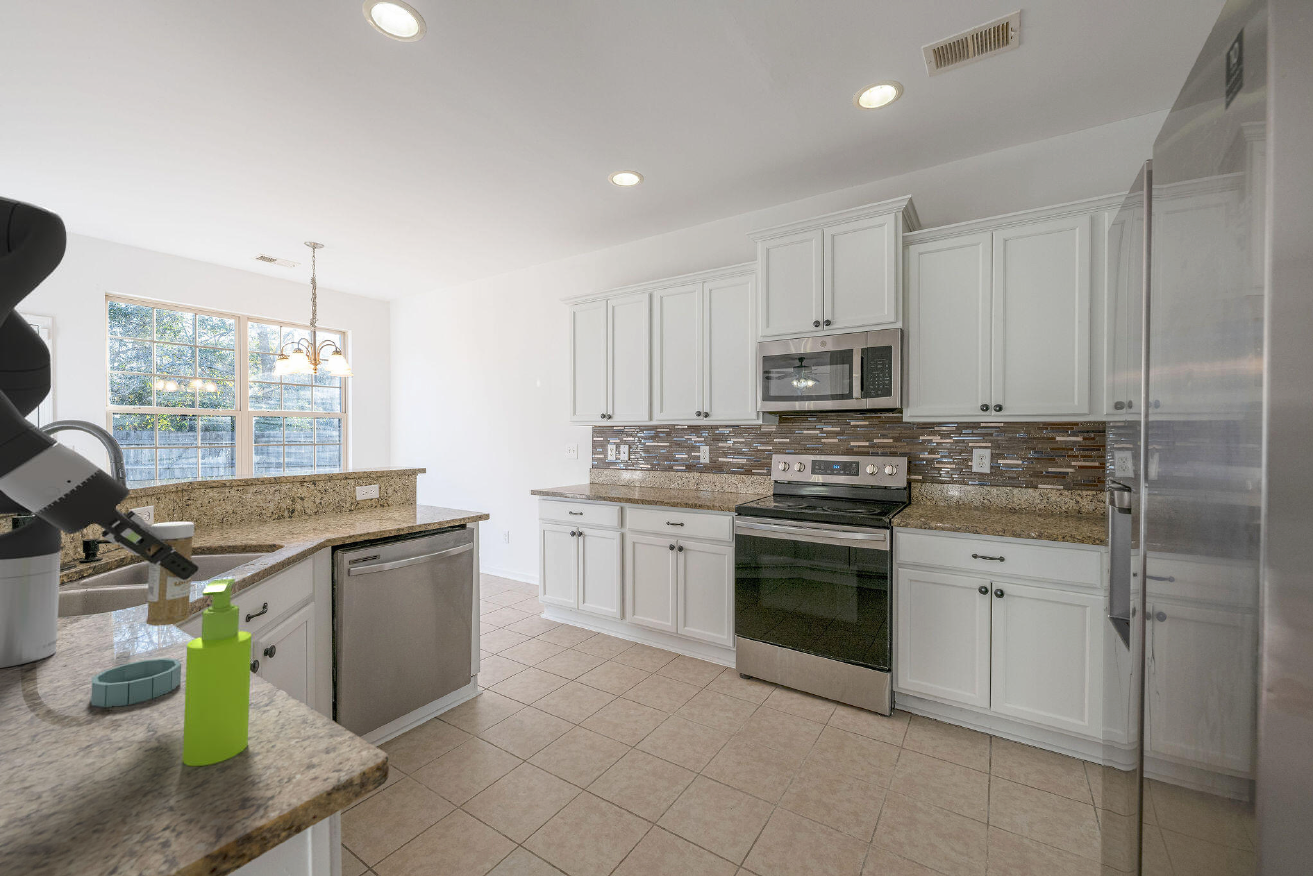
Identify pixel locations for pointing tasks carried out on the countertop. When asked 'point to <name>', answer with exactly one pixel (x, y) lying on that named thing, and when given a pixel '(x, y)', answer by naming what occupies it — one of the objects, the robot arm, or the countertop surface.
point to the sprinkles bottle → (170, 577)
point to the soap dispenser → (217, 683)
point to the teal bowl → (135, 682)
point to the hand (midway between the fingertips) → (188, 570)
